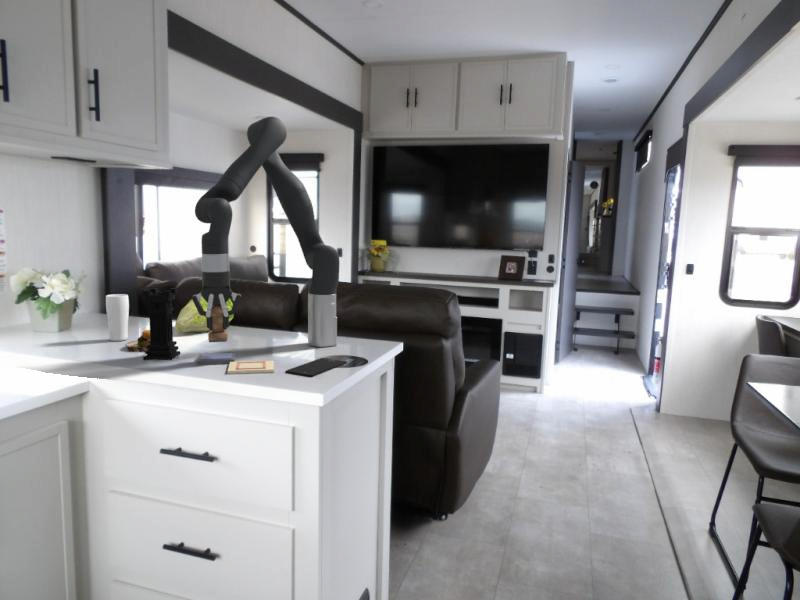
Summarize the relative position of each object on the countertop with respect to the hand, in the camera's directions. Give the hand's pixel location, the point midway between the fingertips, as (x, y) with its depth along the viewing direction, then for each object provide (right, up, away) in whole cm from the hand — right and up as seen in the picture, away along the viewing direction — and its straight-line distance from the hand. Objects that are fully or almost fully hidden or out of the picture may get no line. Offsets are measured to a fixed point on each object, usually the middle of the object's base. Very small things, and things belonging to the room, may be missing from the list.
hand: (218, 329), depth 159 cm
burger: (-28, -7, +15) cm, 33 cm away
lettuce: (-21, -3, +45) cm, 50 cm away
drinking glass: (-41, -5, +25) cm, 49 cm away
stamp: (0, -3, 0) cm, 3 cm away
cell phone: (+29, -11, -3) cm, 31 cm away
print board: (+11, -10, -6) cm, 17 cm away
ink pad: (-1, -9, +1) cm, 9 cm away
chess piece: (-18, -9, +4) cm, 20 cm away
